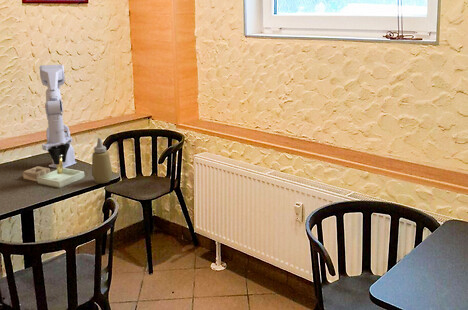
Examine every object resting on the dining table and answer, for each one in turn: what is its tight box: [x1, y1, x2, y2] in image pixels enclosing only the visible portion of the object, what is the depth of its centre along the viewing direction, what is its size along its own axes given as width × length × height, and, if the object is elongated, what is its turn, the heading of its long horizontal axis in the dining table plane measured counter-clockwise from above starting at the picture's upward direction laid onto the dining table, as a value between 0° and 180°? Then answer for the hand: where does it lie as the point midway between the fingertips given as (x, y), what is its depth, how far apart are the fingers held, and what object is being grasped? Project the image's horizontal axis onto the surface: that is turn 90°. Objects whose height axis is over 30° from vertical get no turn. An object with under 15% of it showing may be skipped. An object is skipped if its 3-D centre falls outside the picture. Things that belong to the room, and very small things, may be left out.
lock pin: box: [56, 153, 63, 174], centre depth 224 cm, size 3×3×8 cm
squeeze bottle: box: [91, 137, 113, 184], centre depth 222 cm, size 8×8×18 cm
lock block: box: [22, 165, 51, 182], centre depth 230 cm, size 8×7×3 cm
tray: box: [36, 167, 86, 189], centre depth 226 cm, size 14×12×2 cm
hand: (59, 162), depth 224 cm, fingers closed on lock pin, 3 cm apart
